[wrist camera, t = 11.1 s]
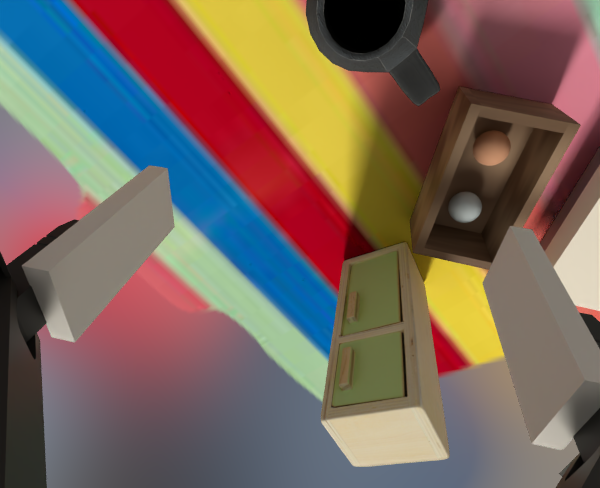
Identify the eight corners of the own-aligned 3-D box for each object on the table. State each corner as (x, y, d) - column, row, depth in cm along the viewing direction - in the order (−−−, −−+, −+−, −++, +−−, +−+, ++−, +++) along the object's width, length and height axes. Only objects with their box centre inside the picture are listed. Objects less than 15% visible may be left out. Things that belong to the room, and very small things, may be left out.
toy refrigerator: (405, 234, 43) (419, 401, 26) (426, 283, 46) (451, 462, 29) (339, 254, 46) (313, 416, 29) (363, 299, 49) (352, 469, 32)
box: (458, 86, 34) (471, 103, 29) (552, 104, 33) (580, 124, 28) (409, 221, 42) (413, 252, 37) (484, 237, 41) (497, 271, 36)
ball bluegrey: (452, 183, 38) (457, 197, 35) (483, 189, 38) (490, 204, 35) (441, 209, 40) (445, 224, 37) (471, 216, 39) (477, 231, 37)
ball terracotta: (477, 122, 34) (484, 133, 32) (511, 129, 34) (521, 141, 32) (464, 154, 36) (470, 167, 34) (497, 161, 36) (505, 174, 34)
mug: (292, -4, 32) (255, 1, 23) (383, -103, 28) (382, -146, 19) (377, 110, 36) (375, 153, 27) (469, 38, 32) (504, 60, 23)
